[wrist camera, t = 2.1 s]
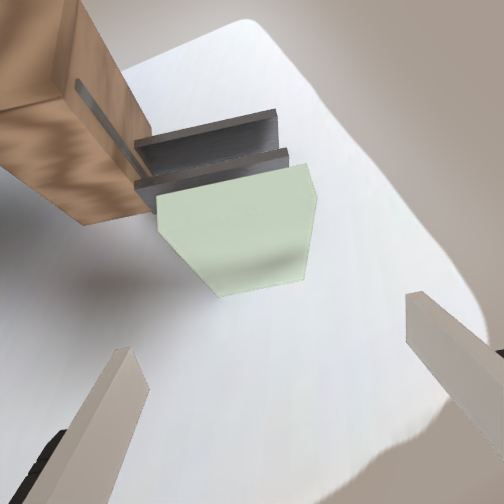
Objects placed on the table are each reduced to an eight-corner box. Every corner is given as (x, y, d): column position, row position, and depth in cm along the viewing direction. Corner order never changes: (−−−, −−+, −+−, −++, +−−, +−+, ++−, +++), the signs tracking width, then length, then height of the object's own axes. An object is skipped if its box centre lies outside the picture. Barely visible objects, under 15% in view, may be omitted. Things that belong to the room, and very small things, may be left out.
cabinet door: (218, 297, 30) (157, 231, 16) (214, 268, 31) (155, 185, 17) (304, 280, 29) (317, 197, 16) (296, 252, 31) (303, 153, 17)
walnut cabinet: (79, 230, 35) (-92, 113, 19) (87, 139, 41) (-38, -7, 25) (158, 213, 35) (50, 79, 19) (154, 123, 41) (70, -34, 25)
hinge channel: (154, 214, 35) (134, 189, 30) (152, 168, 38) (133, 140, 33) (289, 185, 34) (288, 156, 29) (276, 141, 37) (275, 108, 32)
